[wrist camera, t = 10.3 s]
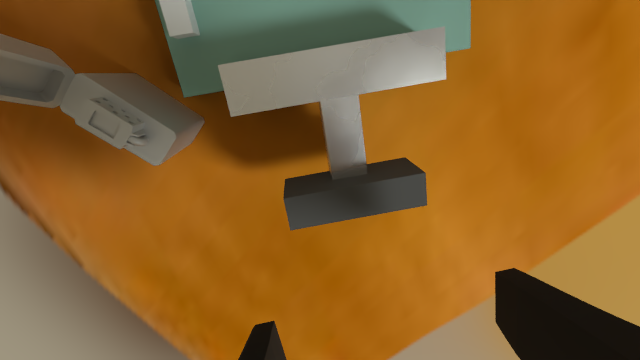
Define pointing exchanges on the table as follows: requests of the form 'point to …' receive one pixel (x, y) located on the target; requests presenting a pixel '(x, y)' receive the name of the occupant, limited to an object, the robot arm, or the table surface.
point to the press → (291, 29)
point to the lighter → (99, 101)
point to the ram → (342, 119)
